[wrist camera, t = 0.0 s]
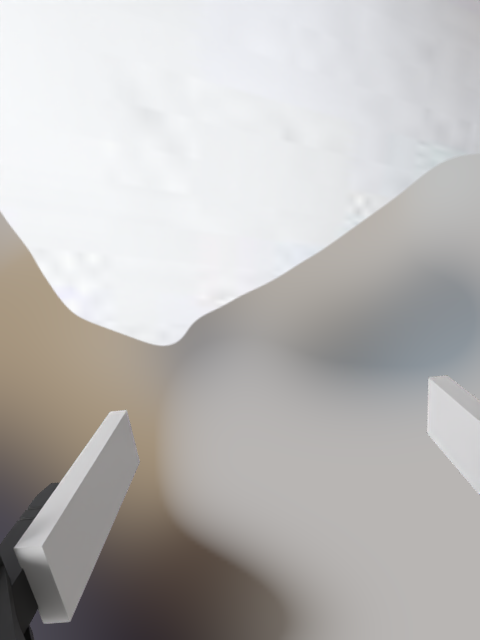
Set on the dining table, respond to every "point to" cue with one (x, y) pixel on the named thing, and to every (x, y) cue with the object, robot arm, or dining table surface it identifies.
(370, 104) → the dining table surface
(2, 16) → the dining table surface
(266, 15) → the dining table surface
